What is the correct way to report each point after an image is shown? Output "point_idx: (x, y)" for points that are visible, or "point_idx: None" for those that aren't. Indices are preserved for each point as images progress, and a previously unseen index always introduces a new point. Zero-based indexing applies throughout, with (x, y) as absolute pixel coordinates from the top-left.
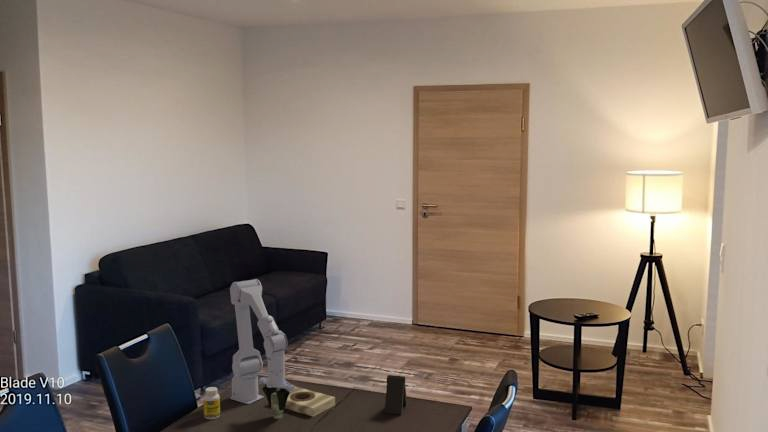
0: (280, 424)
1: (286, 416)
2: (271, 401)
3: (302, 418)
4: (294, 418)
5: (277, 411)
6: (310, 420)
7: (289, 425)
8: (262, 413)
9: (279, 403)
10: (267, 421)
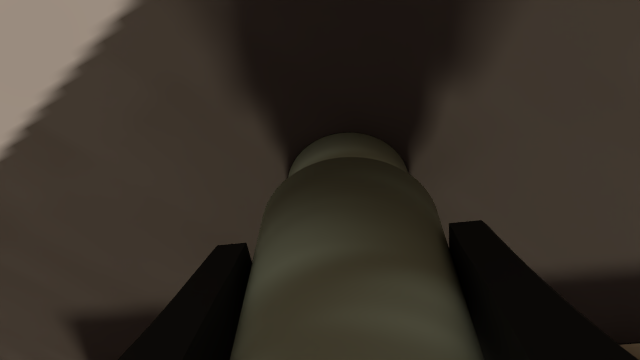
0: (119, 72)
1: None
2: (405, 304)
3: (121, 314)
4: (174, 273)
5: (271, 210)
6: (29, 327)
7: (20, 129)
8: (611, 139)
9: (165, 335)
10: (341, 11)
